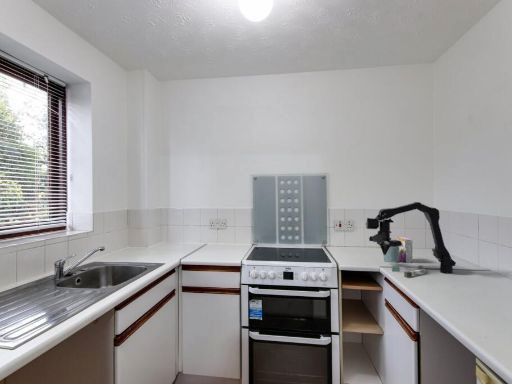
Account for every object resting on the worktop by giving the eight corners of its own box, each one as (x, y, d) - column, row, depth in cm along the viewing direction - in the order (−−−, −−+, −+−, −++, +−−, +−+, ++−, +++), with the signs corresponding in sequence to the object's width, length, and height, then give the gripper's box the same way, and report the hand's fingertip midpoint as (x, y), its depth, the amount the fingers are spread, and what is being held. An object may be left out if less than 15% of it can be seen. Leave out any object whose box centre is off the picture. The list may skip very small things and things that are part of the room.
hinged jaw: (417, 271, 147) (417, 267, 147) (418, 272, 145) (418, 268, 145) (391, 270, 150) (391, 266, 149) (392, 271, 148) (392, 267, 148)
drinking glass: (402, 264, 167) (402, 246, 167) (391, 265, 164) (391, 247, 164) (389, 260, 177) (389, 243, 177) (379, 261, 173) (378, 244, 173)
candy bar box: (396, 259, 178) (396, 236, 178) (403, 259, 178) (403, 236, 178) (405, 264, 167) (405, 239, 167) (412, 264, 167) (412, 239, 167)
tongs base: (405, 269, 157) (405, 260, 157) (435, 278, 140) (435, 268, 140) (385, 273, 149) (384, 264, 149) (414, 283, 133) (414, 273, 133)
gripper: (362, 228, 159) (362, 252, 159) (389, 232, 142) (389, 260, 142) (375, 227, 164) (375, 250, 164) (402, 231, 147) (402, 257, 147)
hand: (384, 254), depth 154 cm, fingers closed
